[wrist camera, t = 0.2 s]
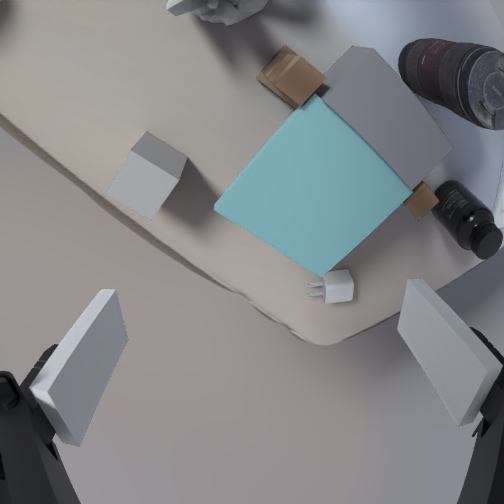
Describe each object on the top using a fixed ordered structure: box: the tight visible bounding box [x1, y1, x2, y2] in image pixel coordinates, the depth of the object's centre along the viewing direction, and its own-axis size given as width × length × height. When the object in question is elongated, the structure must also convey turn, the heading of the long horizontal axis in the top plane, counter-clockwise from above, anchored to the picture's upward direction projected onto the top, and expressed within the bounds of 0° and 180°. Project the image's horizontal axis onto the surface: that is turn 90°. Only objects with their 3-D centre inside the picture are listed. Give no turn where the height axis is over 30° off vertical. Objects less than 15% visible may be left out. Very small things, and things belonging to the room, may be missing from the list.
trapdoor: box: [214, 46, 453, 278], centre depth 28 cm, size 19×13×5 cm
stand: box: [256, 46, 439, 221], centre depth 30 cm, size 5×19×13 cm, turn 52°
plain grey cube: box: [106, 131, 187, 221], centre depth 35 cm, size 6×6×7 cm
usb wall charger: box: [306, 269, 354, 304], centre depth 49 cm, size 4×7×4 cm, turn 96°
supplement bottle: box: [432, 181, 503, 259], centre depth 38 cm, size 7×7×12 cm
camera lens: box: [398, 38, 504, 130], centre depth 25 cm, size 8×8×15 cm
